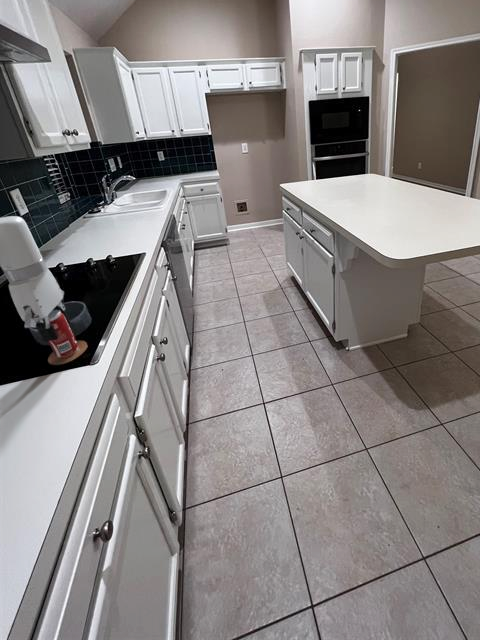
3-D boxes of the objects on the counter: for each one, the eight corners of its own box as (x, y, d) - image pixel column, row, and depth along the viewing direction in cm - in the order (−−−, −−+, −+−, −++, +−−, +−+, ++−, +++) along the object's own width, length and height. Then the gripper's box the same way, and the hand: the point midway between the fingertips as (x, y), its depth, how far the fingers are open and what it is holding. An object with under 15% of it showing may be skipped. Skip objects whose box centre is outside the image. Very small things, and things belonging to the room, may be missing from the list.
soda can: (60, 348, 85) (41, 311, 80) (81, 343, 86) (64, 306, 81) (53, 361, 81) (33, 323, 76) (76, 355, 82) (57, 318, 77)
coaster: (41, 368, 79) (40, 367, 79) (59, 344, 87) (59, 343, 87) (78, 362, 80) (77, 361, 80) (93, 339, 88) (92, 338, 88)
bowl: (30, 353, 85) (21, 337, 83) (44, 324, 97) (36, 309, 95) (88, 336, 89) (81, 321, 87) (95, 311, 101) (88, 296, 99)
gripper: (31, 256, 80) (60, 314, 88) (-18, 291, 65) (22, 358, 73) (62, 252, 81) (88, 310, 89) (20, 286, 65) (56, 352, 73)
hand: (57, 331), depth 81 cm, fingers open, 5 cm apart
